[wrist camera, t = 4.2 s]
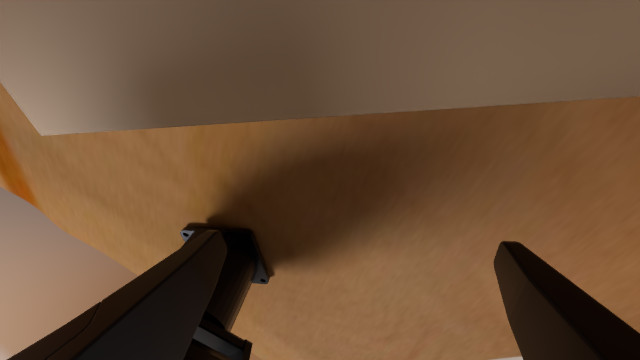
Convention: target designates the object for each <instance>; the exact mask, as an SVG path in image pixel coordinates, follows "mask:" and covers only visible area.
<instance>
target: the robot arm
mask: <svg viewBox="0 0 640 360" xmlns="http://www.w3.org/2000/svg"><path fill="white" fill-rule="evenodd" d="M180 234H181V236H182V237H183V239H184V241H185V243H184V245H183V246H182V247H181V248H180V249H179V250H177V251H176V252H174V253H173V254H171V255H170V256H168V257H167V258H165V259H164V260H162V261H161V262H159V263H158V264H156V265H155V266H153V267H152V268H150V269H149V270H147V271H146V272H144V273H143V274H141V275H140V276H138V277H137V278H135V279H134V280H132V281H131V282H129V283H128V284H126V285H125V286H123V287H122V288H120V289H119V290H117V291H116V292H114V293H112V294H111V295H109V296H108V297H107V298H105V299H103V300H102V302H99V303H97V304H96V305H94V306H93V307H91V308H90V309H88V310H87V311H85V312H84V313H82V314H81V315H79V316H78V317H76V318H75V319H73V320H71V321H70V322H68V323H67V324H65V325H64V326H62V327H60V328H59V329H57V330H55V331H54V332H52V333H51V334H49V335H47V336H46V337H44V338H42V339H41V340H39V341H37V342H36V343H34V344H32V345H31V346H29V347H27V348H26V349H24V350H22V351H21V352H19V353H17V354H16V355H14V356H12V357H11V358H9V359H7V360H249V358H250V353H251V348H252V343H251V342H250V341H248V340H243V339H241V338H239V337H238V336H236V335H234V334H232V333H231V332H230V331H231V329H232V326H233V324H234V322H235V320H236V317H237V315H238V313H239V311H240V308H241V306H242V304H243V302H244V299H245V297H246V295H247V293H248V290H249V288H250V286H251V284H252V283H258V284H267V283H268V282H269V279H270V277H269V274H268V272H267V269H266V266H265V263H264V261H263V258H262V255H261V253H260V250H259V247H258V245H257V242H256V239H255V236H254V234H253V232H252V231H251V230H248V229H229V228H198V227H184V228H183V229H182V231H181V232H180ZM494 269H495V272H496V276H497V280H498V284H499V288H500V291H501V295H502V299H503V303H504V306H505V310H506V314H507V317H508V321H509V323H510V326H511V329H512V331H513V334H514V337H515V339H516V342H517V344H518V347H519V349H520V352H521V355H522V357H523V360H640V333H639V332H637V331H636V330H635V329H633V328H632V327H631V326H629V325H628V324H627V323H625V322H624V321H623V320H621V319H620V318H619V317H617V316H616V315H615V314H613V313H612V312H611V311H610V310H608V309H607V308H606V307H604V306H603V305H602V304H600V303H599V302H598V301H596V300H595V299H594V298H592V297H591V296H590V295H588V294H587V293H586V292H584V291H583V290H582V289H580V288H579V287H578V286H576V285H575V284H574V283H573V282H571V281H570V280H569V279H567V278H566V277H565V276H563V275H562V274H561V273H559V272H558V271H557V270H555V269H554V268H553V267H551V266H550V265H549V264H547V263H546V262H545V261H543V260H542V259H541V258H539V257H538V256H537V255H536V254H534V253H533V252H532V251H530V250H529V249H528V248H526V247H525V246H524V245H522V244H521V243H519V242H515V241H502V242H501V243H500V244H499V247H498V250H497V253H496V256H495V259H494Z"/></svg>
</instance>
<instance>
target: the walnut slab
mask: <svg viewBox="0 0 640 360" xmlns="http://www.w3.org/2000/svg"><path fill="white" fill-rule="evenodd" d="M0 82H1V84H2V85H3V86H4V88H5V89H6V90H7V91H8V93H9V94H10V95H11V97H12V98H13V99H14V101H15V102H16V103H17V105H18V106H19V107H20V109H21V110H22V111H23V112H24V114H25V115H26V116H27V118H28V119H29V120H30V122H31V123H32V124H33V126H34V127H35V128H36V130H37V131H38V132H39V134H40V135H41V136H44V135H59V134H74V133H90V132H105V131H120V130H135V129H150V128H166V127H181V126H196V125H211V124H226V123H242V122H257V121H272V120H287V119H302V118H318V117H333V116H348V115H363V114H378V113H394V112H409V111H424V110H439V109H454V108H470V107H485V106H500V105H515V104H530V103H546V102H561V101H576V100H591V99H606V98H621V97H637V96H640V0H0Z"/></svg>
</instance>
